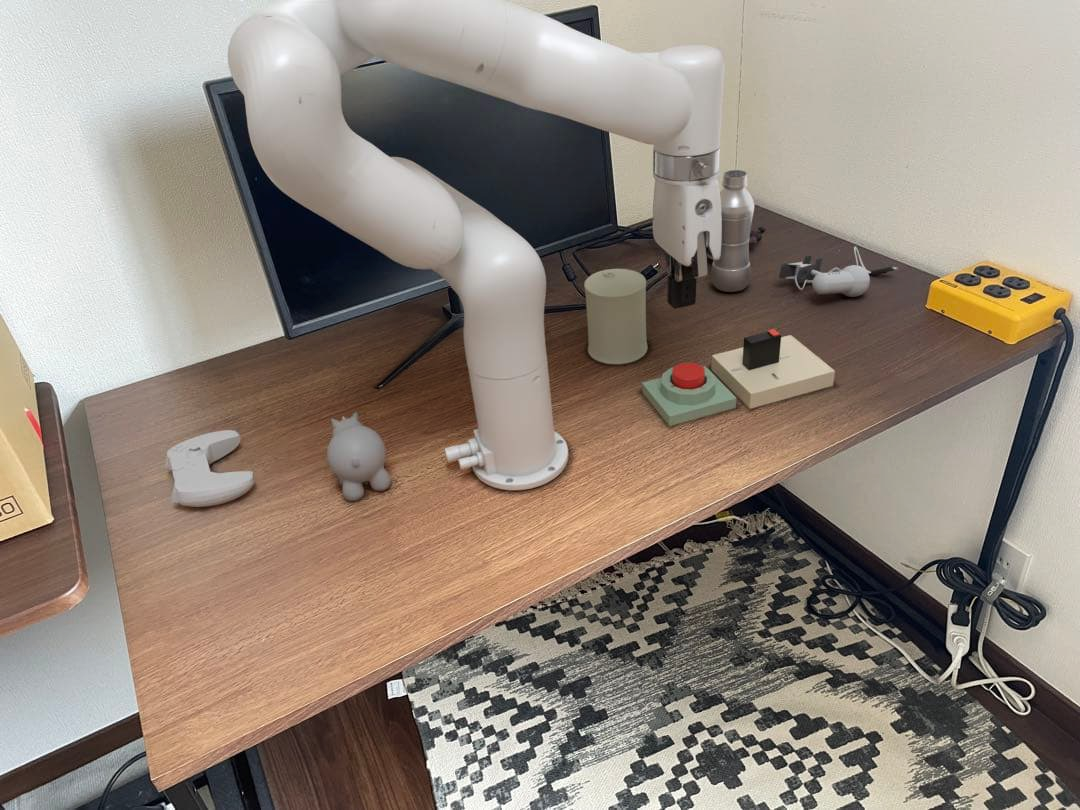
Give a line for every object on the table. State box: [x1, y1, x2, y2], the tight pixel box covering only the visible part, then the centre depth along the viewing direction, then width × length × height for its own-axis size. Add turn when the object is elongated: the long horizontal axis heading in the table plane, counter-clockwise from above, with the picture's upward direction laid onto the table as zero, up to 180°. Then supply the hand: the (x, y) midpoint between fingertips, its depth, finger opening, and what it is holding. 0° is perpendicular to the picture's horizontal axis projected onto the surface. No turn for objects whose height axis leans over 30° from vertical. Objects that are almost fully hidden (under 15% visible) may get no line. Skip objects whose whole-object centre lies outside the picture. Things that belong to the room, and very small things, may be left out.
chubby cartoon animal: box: [326, 411, 392, 502], centre depth 103 cm, size 7×12×8 cm, turn 21°
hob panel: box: [710, 334, 836, 410], centre depth 114 cm, size 13×11×3 cm
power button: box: [672, 361, 705, 389], centre depth 110 cm, size 4×4×2 cm
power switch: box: [641, 365, 738, 427], centre depth 112 cm, size 10×9×4 cm
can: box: [583, 268, 648, 365], centre depth 122 cm, size 9×9×12 cm
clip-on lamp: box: [778, 246, 899, 298], centre depth 134 cm, size 12×6×18 cm
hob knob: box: [742, 328, 782, 370], centre depth 113 cm, size 5×2×5 cm, turn 109°
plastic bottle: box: [710, 169, 755, 293], centre depth 133 cm, size 6×7×20 cm
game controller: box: [164, 429, 255, 508], centre depth 106 cm, size 14×4×10 cm
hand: (681, 303), depth 104 cm, fingers closed
